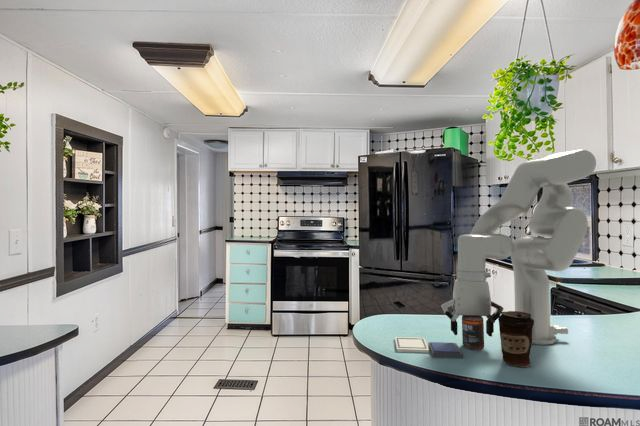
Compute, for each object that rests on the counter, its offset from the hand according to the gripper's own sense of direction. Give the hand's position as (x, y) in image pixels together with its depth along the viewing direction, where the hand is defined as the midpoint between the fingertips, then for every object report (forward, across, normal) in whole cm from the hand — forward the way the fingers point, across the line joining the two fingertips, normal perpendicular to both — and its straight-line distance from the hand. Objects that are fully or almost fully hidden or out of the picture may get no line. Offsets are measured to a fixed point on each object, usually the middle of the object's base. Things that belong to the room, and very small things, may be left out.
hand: (471, 334), depth 107 cm
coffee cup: (+4, -8, +11) cm, 14 cm away
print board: (+4, +18, +1) cm, 18 cm away
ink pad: (+4, +9, +5) cm, 11 cm away
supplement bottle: (+4, 0, 0) cm, 4 cm away
